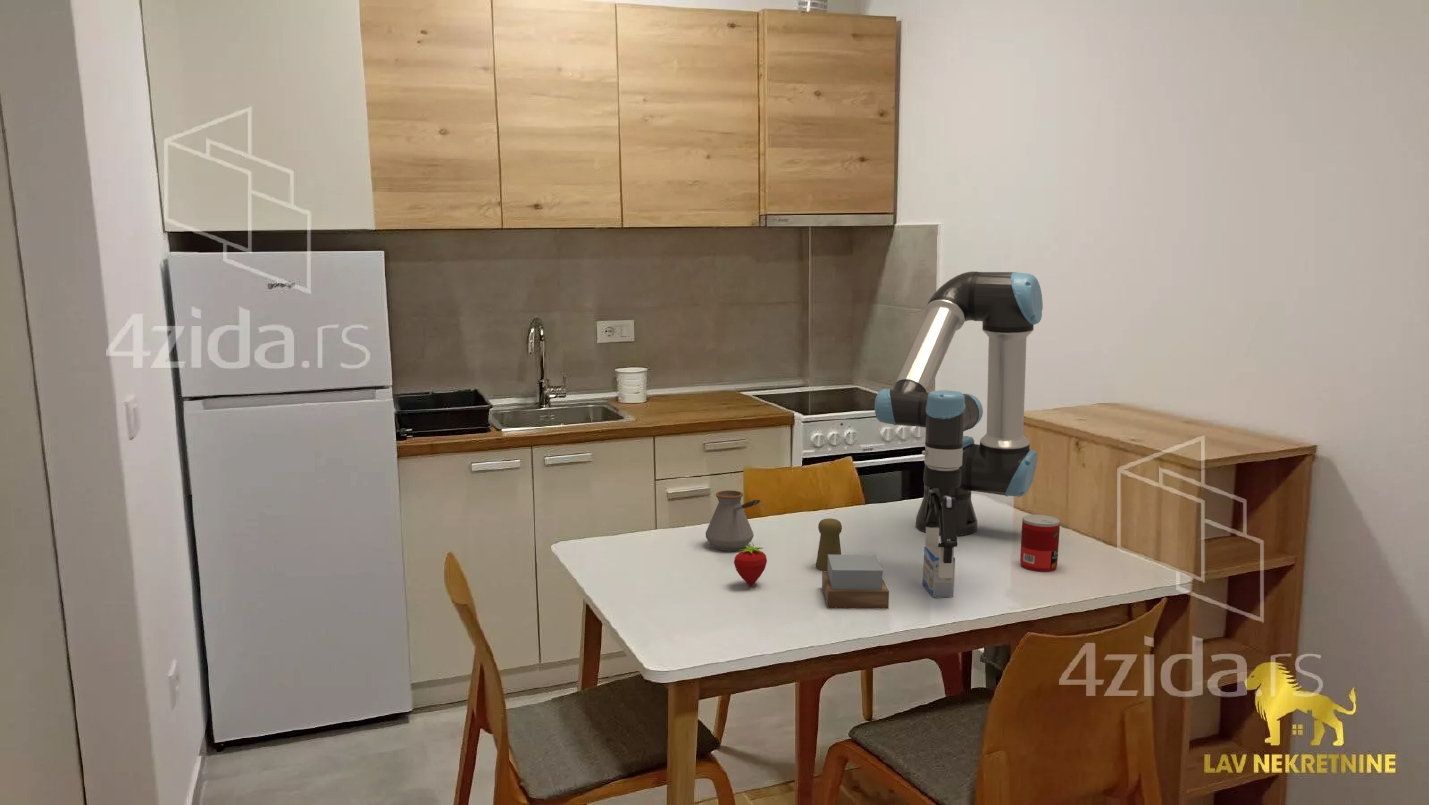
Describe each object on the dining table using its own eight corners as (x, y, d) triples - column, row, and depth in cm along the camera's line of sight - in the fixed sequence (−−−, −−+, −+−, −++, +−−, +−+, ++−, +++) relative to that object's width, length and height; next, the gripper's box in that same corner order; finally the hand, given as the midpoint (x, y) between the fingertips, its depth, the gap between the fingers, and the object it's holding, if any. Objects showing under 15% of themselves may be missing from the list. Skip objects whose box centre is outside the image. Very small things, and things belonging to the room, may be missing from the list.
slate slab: (827, 572, 213) (827, 554, 213) (875, 573, 213) (875, 554, 212) (831, 589, 203) (832, 570, 203) (882, 589, 203) (882, 570, 203)
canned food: (1059, 573, 224) (1062, 524, 222) (1021, 570, 226) (1024, 522, 224) (1054, 562, 231) (1057, 515, 230) (1018, 560, 233) (1020, 513, 231)
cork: (825, 573, 224) (826, 524, 222) (810, 565, 229) (811, 518, 227) (848, 569, 226) (849, 521, 224) (832, 561, 232) (833, 514, 230)
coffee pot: (697, 542, 246) (697, 481, 243) (740, 536, 250) (740, 477, 248) (736, 568, 227) (736, 503, 224) (781, 562, 231) (782, 497, 229)
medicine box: (921, 585, 216) (923, 545, 215) (942, 584, 217) (944, 545, 215) (932, 598, 209) (934, 557, 207) (954, 597, 209) (955, 557, 208)
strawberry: (727, 585, 216) (727, 539, 214) (755, 578, 220) (756, 533, 219) (744, 593, 211) (744, 546, 210) (773, 586, 216) (773, 540, 214)
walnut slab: (821, 589, 215) (822, 571, 214) (878, 589, 215) (879, 571, 214) (828, 610, 203) (828, 591, 202) (888, 610, 203) (889, 591, 202)
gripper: (912, 454, 221) (908, 549, 224) (937, 480, 196) (932, 586, 199) (947, 454, 221) (943, 549, 224) (976, 480, 196) (971, 587, 199)
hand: (938, 567), depth 212 cm, fingers open, 13 cm apart
